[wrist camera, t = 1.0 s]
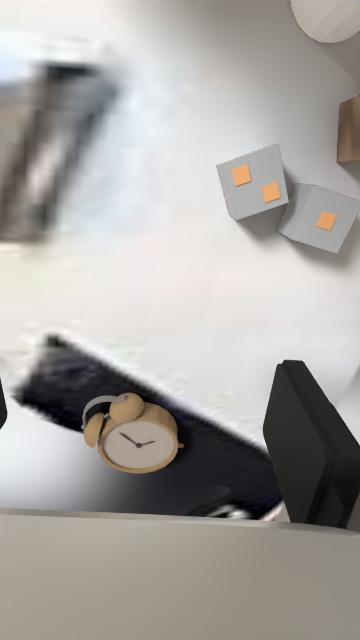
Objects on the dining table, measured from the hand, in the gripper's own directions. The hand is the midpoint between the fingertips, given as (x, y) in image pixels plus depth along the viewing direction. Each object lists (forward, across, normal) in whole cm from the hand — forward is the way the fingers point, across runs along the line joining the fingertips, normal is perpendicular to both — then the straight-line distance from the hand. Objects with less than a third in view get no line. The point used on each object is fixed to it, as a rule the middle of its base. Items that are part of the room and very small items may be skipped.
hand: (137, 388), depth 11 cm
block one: (+27, -15, -4) cm, 31 cm away
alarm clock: (+28, +4, +27) cm, 39 cm away
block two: (+27, -8, -6) cm, 29 cm away
